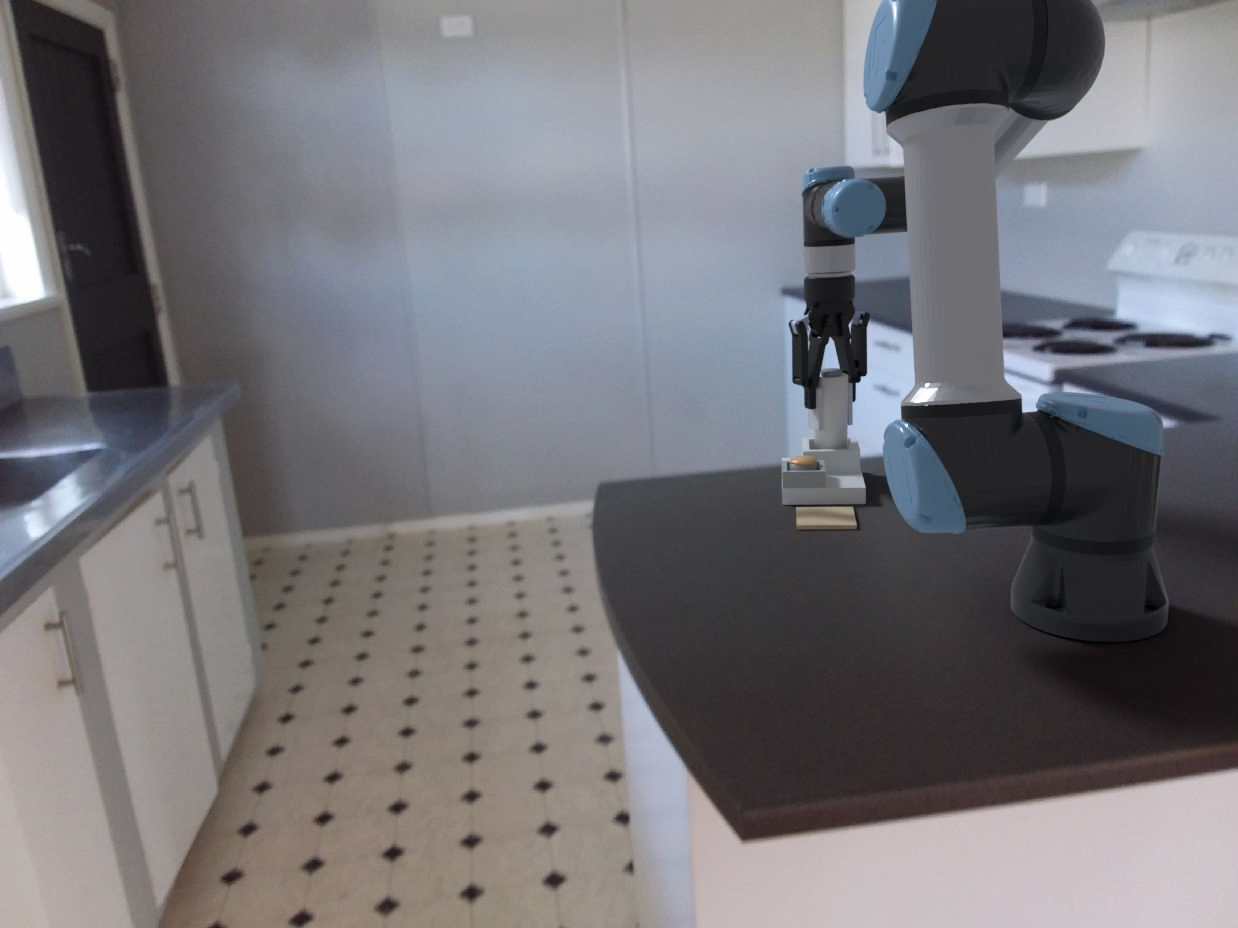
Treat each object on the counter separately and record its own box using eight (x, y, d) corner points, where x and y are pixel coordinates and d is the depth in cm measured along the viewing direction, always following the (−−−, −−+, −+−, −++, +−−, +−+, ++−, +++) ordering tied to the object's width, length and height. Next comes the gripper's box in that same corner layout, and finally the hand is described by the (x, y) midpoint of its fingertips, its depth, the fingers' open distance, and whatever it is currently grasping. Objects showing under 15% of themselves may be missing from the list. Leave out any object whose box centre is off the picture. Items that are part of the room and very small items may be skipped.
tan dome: (817, 482, 148) (817, 462, 147) (790, 482, 148) (789, 463, 148) (816, 474, 151) (816, 455, 151) (789, 475, 152) (789, 456, 151)
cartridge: (853, 459, 156) (855, 370, 152) (828, 464, 154) (829, 374, 150) (832, 452, 160) (833, 365, 157) (807, 457, 158) (807, 370, 154)
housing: (865, 503, 146) (865, 464, 145) (782, 504, 148) (781, 465, 147) (857, 471, 162) (857, 435, 161) (782, 472, 164) (781, 437, 163)
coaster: (856, 529, 136) (856, 525, 136) (796, 529, 137) (796, 525, 137) (852, 510, 144) (852, 506, 144) (796, 511, 145) (796, 507, 145)
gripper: (861, 268, 157) (861, 413, 163) (764, 278, 149) (768, 430, 155) (893, 270, 150) (892, 421, 156) (794, 281, 143) (796, 439, 149)
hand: (830, 426), depth 156 cm, fingers closed on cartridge, 5 cm apart
